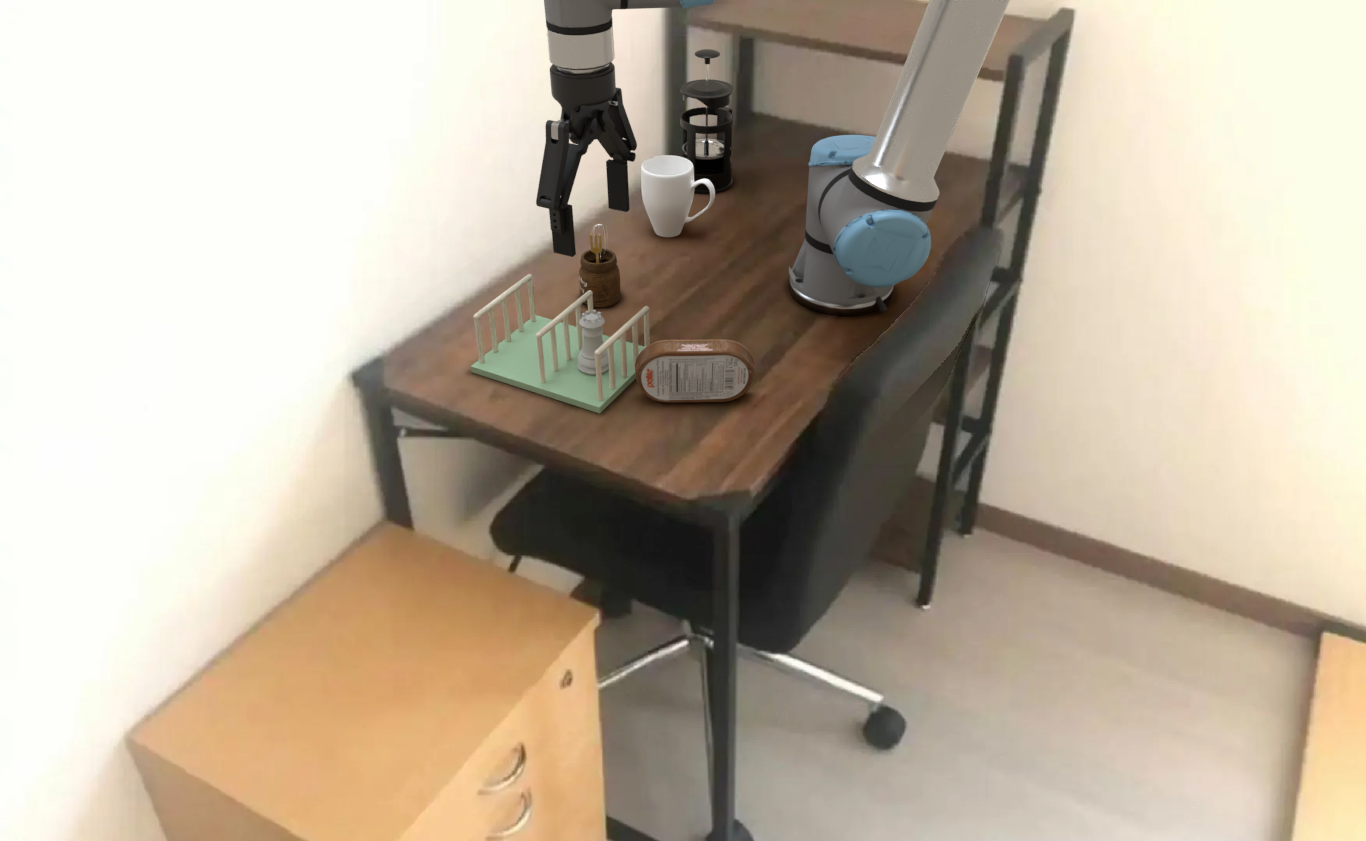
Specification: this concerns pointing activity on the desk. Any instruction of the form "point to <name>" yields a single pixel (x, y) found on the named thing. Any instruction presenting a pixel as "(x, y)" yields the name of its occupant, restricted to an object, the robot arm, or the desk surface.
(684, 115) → the french press
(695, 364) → the tin
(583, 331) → the rook chess piece
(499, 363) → the drying rack
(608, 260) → the utensil holder
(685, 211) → the mug
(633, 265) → the desk surface
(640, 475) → the desk surface
